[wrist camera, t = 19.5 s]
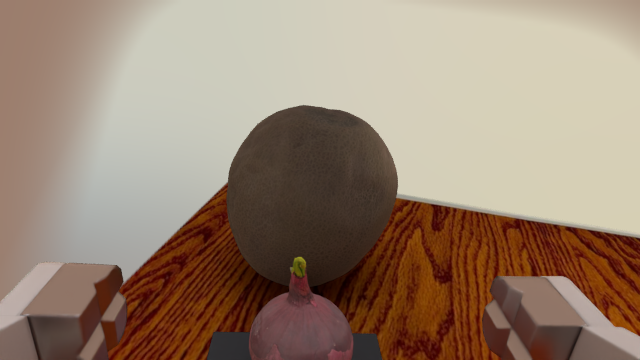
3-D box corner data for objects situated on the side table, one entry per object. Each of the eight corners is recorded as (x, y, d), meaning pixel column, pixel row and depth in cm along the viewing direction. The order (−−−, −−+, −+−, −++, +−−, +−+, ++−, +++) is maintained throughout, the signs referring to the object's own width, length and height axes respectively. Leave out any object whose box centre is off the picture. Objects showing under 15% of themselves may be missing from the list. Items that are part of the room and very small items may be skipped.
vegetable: (247, 354, 29) (246, 228, 25) (334, 345, 30) (346, 223, 26) (251, 438, 24) (250, 294, 20) (357, 422, 25) (377, 284, 21)
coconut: (354, 346, 31) (377, 153, 25) (195, 289, 36) (183, 115, 30) (399, 251, 43) (422, 105, 37) (276, 218, 48) (279, 84, 42)
